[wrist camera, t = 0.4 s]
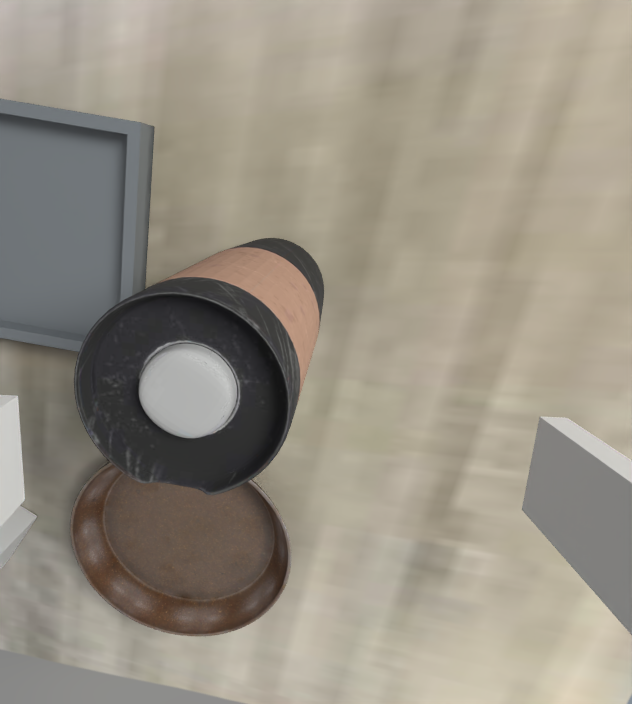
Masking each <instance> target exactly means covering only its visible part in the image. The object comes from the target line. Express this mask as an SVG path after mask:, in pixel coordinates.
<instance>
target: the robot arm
mask: <svg viewBox="0 0 632 704" xmlns="http://www.w3.org/2000/svg"><path fill="white" fill-rule="evenodd" d="M24 500H25V492H24V478H23V463H22V449H21V434H20V419H19V405H18V396H14V395H0V528H1V526H2V525H3V524H4V523H5V522H6V521H7V520H8V518H9V517H10V516H11V515H12V514H13V513H14V512H15V510H16V509H17V508H18V507H19V506H20V505H21V504H22V502H23V501H24ZM522 510H523V511H524V513H525V514H526V515H527V516H528V517H529V518H530V519H531V521H532V522H533V523H534V524H535V525H536V526H537V527H538V529H539V530H540V531H541V532H542V533H543V534H544V535H545V537H546V538H547V539H548V540H549V541H550V542H551V543H552V545H553V546H554V547H555V548H556V549H557V550H558V551H559V553H560V554H561V555H562V556H563V557H564V558H565V559H566V561H567V562H568V563H569V564H570V565H571V566H572V567H573V569H574V570H575V571H576V572H577V573H578V574H579V575H580V576H581V578H582V579H583V580H584V581H585V582H586V583H587V584H588V586H589V587H590V588H591V589H592V590H593V591H594V592H595V594H596V595H597V596H598V597H599V598H600V599H601V600H602V602H603V603H604V604H605V605H606V606H607V607H608V608H609V610H610V611H611V612H612V613H613V614H614V615H615V616H616V618H617V619H618V620H619V621H620V622H621V623H622V624H623V626H624V627H625V628H626V629H627V630H628V631H629V632H630V634H631V635H632V460H630V459H629V458H627V457H626V456H624V455H623V454H621V453H620V452H618V451H617V450H615V449H614V448H612V447H611V446H609V445H608V444H606V443H605V442H603V441H601V440H600V439H598V438H597V437H595V436H594V435H592V434H591V433H589V432H588V431H586V430H585V429H583V428H582V427H580V426H579V425H577V424H576V423H574V422H573V421H571V420H570V419H568V418H561V417H540V418H539V423H538V429H537V434H536V439H535V444H534V449H533V454H532V460H531V465H530V470H529V475H528V480H527V486H526V491H525V496H524V501H523V506H522Z"/></svg>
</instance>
